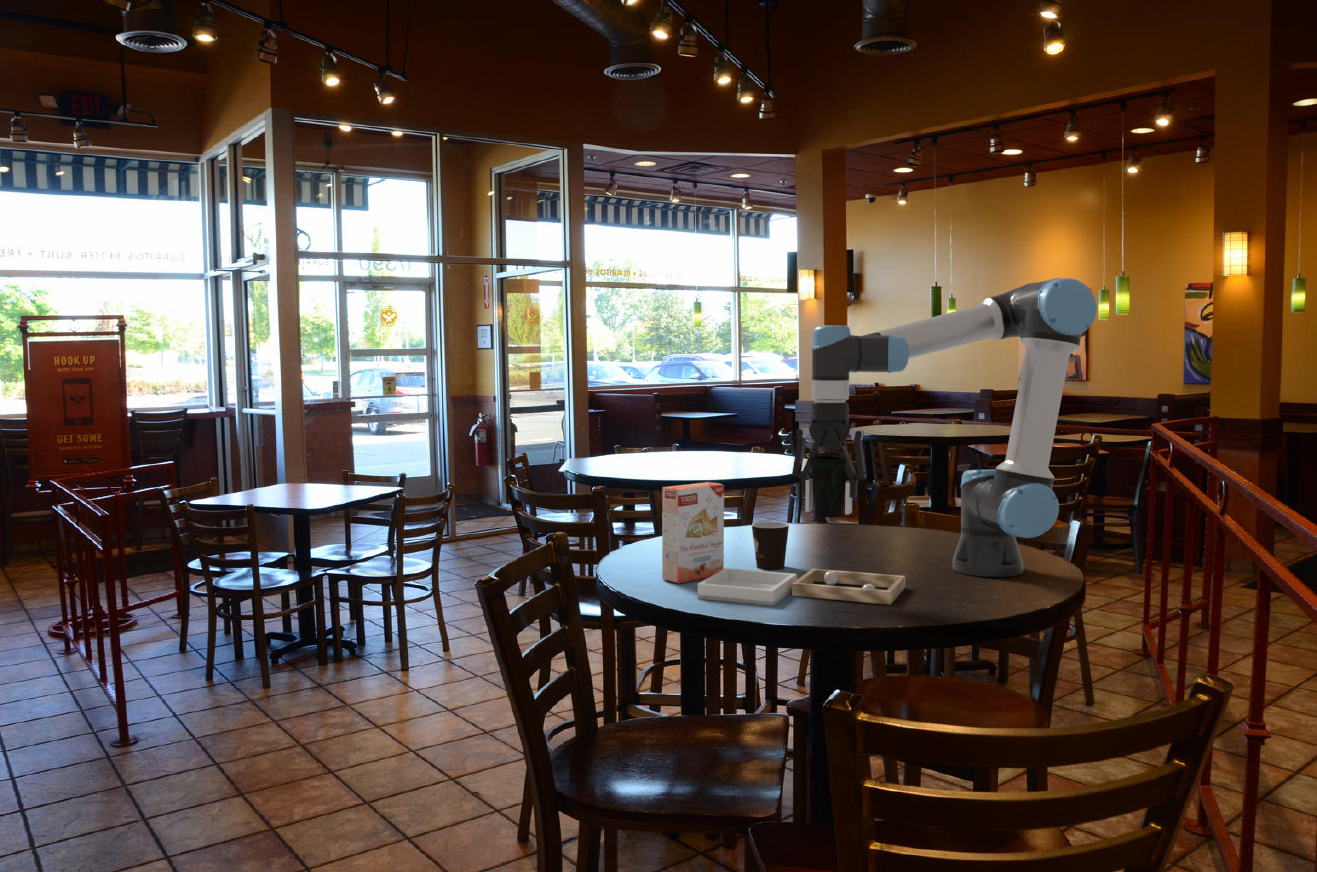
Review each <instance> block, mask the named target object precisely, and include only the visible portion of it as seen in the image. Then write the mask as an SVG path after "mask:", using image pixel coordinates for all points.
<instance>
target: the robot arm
mask: <svg viewBox="0 0 1317 872" xmlns="http://www.w3.org/2000/svg"><path fill="white" fill-rule="evenodd" d="M1097 311H1098V310H1097V301H1096V298H1095V294H1094V293H1093V292H1092V291H1091V289H1090V288H1089V286H1087V285H1086V284H1085V283H1084V282H1083V281H1081V280H1078V279H1075V278H1071V277H1070V278H1065V277H1064V278H1062V277H1055V278H1052V279H1051V278H1050V279H1048V280H1043V281H1037V282H1036V281H1035V282H1030V283H1026V284H1024V285H1021V286H1018V287H1015V288H1013V289H1011V290H1008V291H1006V292H1003V293H1001V294H997V295H994V296H991V297H987V298H985V299H983V300H982V301H981V304H979V305H975V306H971V307H967V308H962V309H959V310H954V311H952V312H947V313H944V314H939V315H936V316H931V317H928V318H925V319H921V320H917V321H914V322H909V323H906V324H901V325H898V326H893V327H890V328H887V329H883V330H879V331H876V332H871V333H866V334H863V335H854V334H851V328H850V327H849V326H848V325H835V324H833V325H817V326H816V327H815V328H814V329H813V333H812V341H811V342H812V346H811V363H812V364H811V366H812V367H811V369H812V371H811V372H812V373H811V375H812V376H811V400H814V402H812V403H811V422H810V425H809V427H807V428H798V429H796V431H795V433H796V439H797V442H796V447H795V453H794V460H793V465H792V473H791V474H792V476H793V477H797V478H799V479H800V493H801V495H802V496H803V495H804V496H805V498H804V499H805V504H804V505H805V506H804V508H805V509H804V510H805V512H807V513H809V512H811V511H813V506H814V495H813V482H812V478H811V475H812V469H811V457H812V458H817V457H818V456H820V452H821V451H822V449H823V448H824V447H825V448H826V447H830V448H836V451H837V452H838V456H840V457H841V459H846V460H845V470H846V473H847V478H848V481H846V486H845V495H844V502H845V503H844V504H845V505H844V515H850V514H852V513H853V498H854V499H855V498H857V496H858V482H859V481H862V480H864V479H866V478H867V467H866V466H867V465H866V460H865V453H864V446H863V445H864V444H863V441H864V440H863V439H864V435H865V432H864V430H862V429H860V430H858V429H852V428H851V426H850V424H849V422H850V421H849V420H850V419H849V418H850V417H849V416H850V415H849V411H850V407H849V406H850V405H849V403H848V402H847V401H848V400H849V398H850V373H889V374H890V373H899V372H900V373H901V372H903V371H904V370H905V369H906V368H907V366H908V363H909V359H913V358H916V357H921V356H924V355H929V354H932V353H935V352H940V351H943V350H944V351H945V350H947V349H952V348H955V347H960V346H964V345H967V344H971V343H975V342H979V341H984V340H986V339H991V340H992V341H1000V340H1005V339H1010V338H1017V337H1018V338H1019V341H1020V342H1021V344H1022V345H1023V347H1024V348H1025V353H1024V358H1023V364H1022V370H1021V374H1020V380H1019V386H1018V390H1017V395H1016V401H1015V407H1014V412H1013V418H1012V422H1011V427H1010V428H1011V429H1010V434H1009V438H1008V439H1009V440H1008V443H1007V444H1008V445H1007V449H1006V455H1005V460H1004V461H1003V462H1001V463H1000V464H998V465H997V466H996V467H995V469H993V468H992V469H969V470H968V469H967V470H965V471H964V472H963V473H962V475H961V483H960V514H961V515H960V525H961V526H960V538H959V540H958V543H957V545H956V549H955V551H954V554H953V557H952V570H954V571H955V572H957V573H959V574H965V575H968V576H974V577H975V576H976V577H987V578H988V577H989V578H1005V577H1015V576H1019V575H1021V574H1023V573H1024V560H1023V558H1022V555H1021V552H1020V548H1019V545H1018V542H1017V539H1016V538H1023V539H1025V538H1026V539H1030V538H1031V539H1032V538H1036V537H1039V536H1042V535H1043V534H1045V533H1047V531H1049V530H1050V529H1051V528H1052V527H1053V525H1054V524H1055V523H1056V521H1057V518H1058V516H1059V512H1060V504H1059V499H1058V497H1057V496H1056V493H1055V492H1054V491H1053V486H1054V482H1055V476H1054V475H1053V473H1052V472H1051V470H1050V468H1049V466H1050V460H1051V455H1052V449H1053V445H1054V439H1055V435H1056V434H1055V433H1056V428H1057V424H1058V418H1059V412H1060V407H1061V402H1062V397H1063V392H1064V391H1063V390H1064V386H1065V382H1066V381H1065V380H1066V376H1067V369H1068V364H1069V360H1070V355H1071V354H1072V353H1074V352H1076V351H1077V350H1078V349H1079V348H1080V344H1081V339H1082V334H1083V333H1084V332H1086V331H1087V330H1088V329H1089V328H1090V327H1091V326H1092V325H1093V323H1094V322H1095V319H1096V316H1097V313H1098V312H1097ZM809 434H810V435H811V436H812V438H813V439H814V441H813V444H812V447H811V450H810V453H809V455H808V457H807V460H806V463H805V465H804V467H803V463H804V457H805V451H806V447H807V446H806V445H807V439H808V438H809ZM849 435H850V437H851V440H852V441H853V449H854V456H855V462H856V463H855V464H856V465H855V466H856V469H855V466H854V465H853V461H852V459H851V457H850V454H849V451H848V446H847V444H846V442H845V440H846V439H847V438H848V436H849ZM802 468H803V469H802ZM856 470H857V472H856Z"/></svg>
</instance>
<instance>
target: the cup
mask: <svg viewBox="0 0 1317 872" xmlns="http://www.w3.org/2000/svg"><path fill="white" fill-rule="evenodd" d="M845 460H846V459H841V457H840V455H818V457H817V458H812V457H811V469H812V471H811V479H812V482H813V506H814V507H813V508H814V516H816V517H820V518H842V517H843V515H844V514H843V513H844V506H845V505H844V504H845V503H844V502H845V489H846V482H847V478H848V475H847V473H846V470H845Z"/></svg>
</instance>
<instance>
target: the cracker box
mask: <svg viewBox="0 0 1317 872" xmlns="http://www.w3.org/2000/svg"><path fill="white" fill-rule="evenodd" d="M661 498H662V499H661V500H662V501H661V504H662V508H661V510H662V512H661V513H662V514H661V519H662V520H661V521H662V522H661V523H662V525H661V526H662V528H661V529H662V530H661V531H662V532H661V533H662V535H661V536H662V537H661V539H662V540H661V541H662V545H661V546H662V555H661V557H662V559H661V560H662V580H663V581H667V582H670V583H674V584H683V583H688V582H689V583H690V582H693V581H697V580H705V579H707V578H709V577H711V576H713V575H714V574H716V573H718V572H720V571H722V570H723V569H725V568H724V565H725V564H724V563H725V561H724V559H725V557H724V555H725V554H724V553H725V551H724V550H725V549H724V545H725V544H724V543H725V539H724V538H725V537H724V536H725V531H724V530H725V485H724V484H722V483H719V482H710V481H705V482H696V483H690V484H681V485H680V484H679V485H678V484H677V485H671V486H662V490H661Z"/></svg>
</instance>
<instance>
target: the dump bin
mask: <svg viewBox="0 0 1317 872" xmlns="http://www.w3.org/2000/svg"><path fill="white" fill-rule="evenodd" d="M797 577H798V575H797V573H789V572H778V571H777V572H776V571H767V570H755V569H753V570H752V569H740V568H730V567H725V568H724V569H723V570H722V571H720V572H718V573H716V574H714V575H713V576H711V577H709V578H705V579H703V580H702V581H701V582H698V583H697V599H698V600H708V601H710V600H711V601H717V602H718V601H720V602H729V603H730V602H731V603H739V604H748V605H758V606H759V605H760V606H768V607H769V606H771V607H774V606H775V605H777V604H778V603H779V602H780V601H782V600H783V599H784V598H786V596H788V595H790V594H792V583H793V582H795V581H796V580H797V579H798V578H797Z"/></svg>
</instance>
